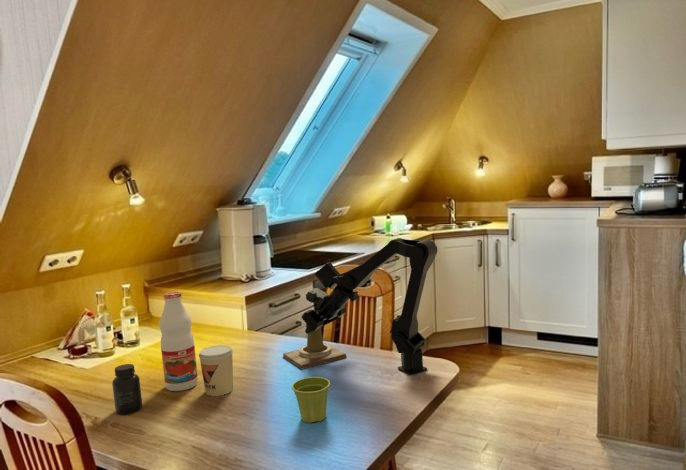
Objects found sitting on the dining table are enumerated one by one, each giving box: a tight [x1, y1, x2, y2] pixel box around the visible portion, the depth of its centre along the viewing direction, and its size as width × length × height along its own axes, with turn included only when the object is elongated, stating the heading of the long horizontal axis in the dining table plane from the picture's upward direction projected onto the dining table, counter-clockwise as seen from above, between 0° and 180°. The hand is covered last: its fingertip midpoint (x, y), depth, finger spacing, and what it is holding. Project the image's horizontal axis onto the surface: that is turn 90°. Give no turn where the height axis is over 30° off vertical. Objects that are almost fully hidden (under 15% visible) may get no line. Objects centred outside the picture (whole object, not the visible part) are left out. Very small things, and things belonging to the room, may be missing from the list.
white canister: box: [198, 344, 234, 397], centre depth 157 cm, size 9×9×12 cm
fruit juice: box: [158, 290, 199, 392], centre depth 161 cm, size 9×9×28 cm
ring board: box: [282, 342, 347, 370], centre depth 180 cm, size 14×16×2 cm
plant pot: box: [291, 376, 331, 424], centre depth 136 cm, size 9×9×9 cm
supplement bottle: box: [111, 363, 143, 416], centre depth 147 cm, size 7×7×12 cm
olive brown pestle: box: [305, 323, 325, 353], centre depth 180 cm, size 6×6×11 cm
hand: (310, 330), depth 181 cm, fingers open, 5 cm apart
